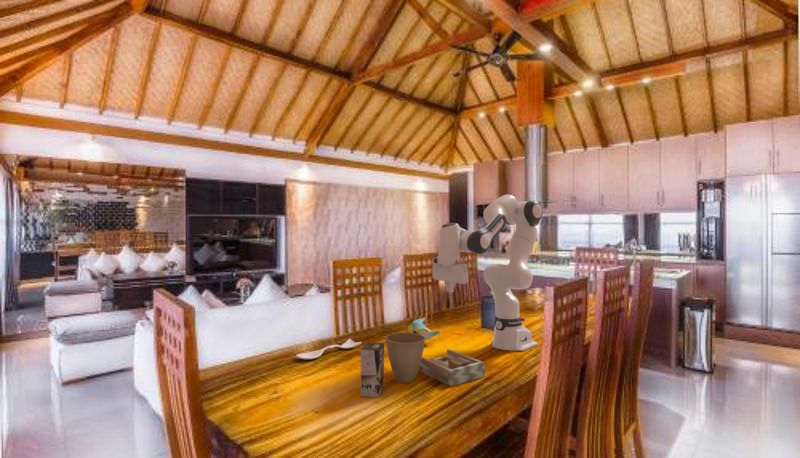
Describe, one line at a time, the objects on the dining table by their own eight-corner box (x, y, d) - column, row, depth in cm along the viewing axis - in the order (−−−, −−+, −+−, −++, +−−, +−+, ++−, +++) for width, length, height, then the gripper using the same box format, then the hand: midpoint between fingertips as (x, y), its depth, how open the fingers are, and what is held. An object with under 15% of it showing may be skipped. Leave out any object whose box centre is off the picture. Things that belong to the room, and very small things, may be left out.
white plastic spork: (362, 348, 198) (362, 341, 198) (303, 364, 175) (303, 356, 175) (350, 344, 204) (350, 337, 204) (292, 359, 182) (292, 351, 182)
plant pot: (397, 390, 147) (396, 345, 147) (379, 376, 160) (379, 335, 160) (432, 382, 154) (432, 339, 153) (413, 370, 167) (412, 330, 167)
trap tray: (447, 361, 177) (447, 348, 177) (484, 376, 159) (484, 362, 159) (415, 369, 168) (415, 355, 168) (450, 386, 150) (450, 371, 150)
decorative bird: (411, 346, 199) (411, 327, 199) (400, 330, 229) (400, 314, 229) (439, 345, 202) (439, 326, 202) (425, 329, 231) (425, 313, 231)
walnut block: (460, 367, 162) (460, 357, 162) (470, 371, 157) (470, 361, 157) (448, 370, 159) (448, 360, 159) (458, 375, 154) (458, 364, 154)
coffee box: (378, 397, 140) (378, 350, 140) (360, 396, 142) (359, 349, 141) (385, 387, 149) (384, 342, 149) (367, 386, 150) (367, 341, 150)
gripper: (471, 261, 174) (472, 294, 174) (440, 258, 191) (440, 288, 191) (460, 262, 170) (460, 295, 170) (429, 259, 187) (430, 289, 187)
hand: (450, 291), depth 181 cm, fingers closed
